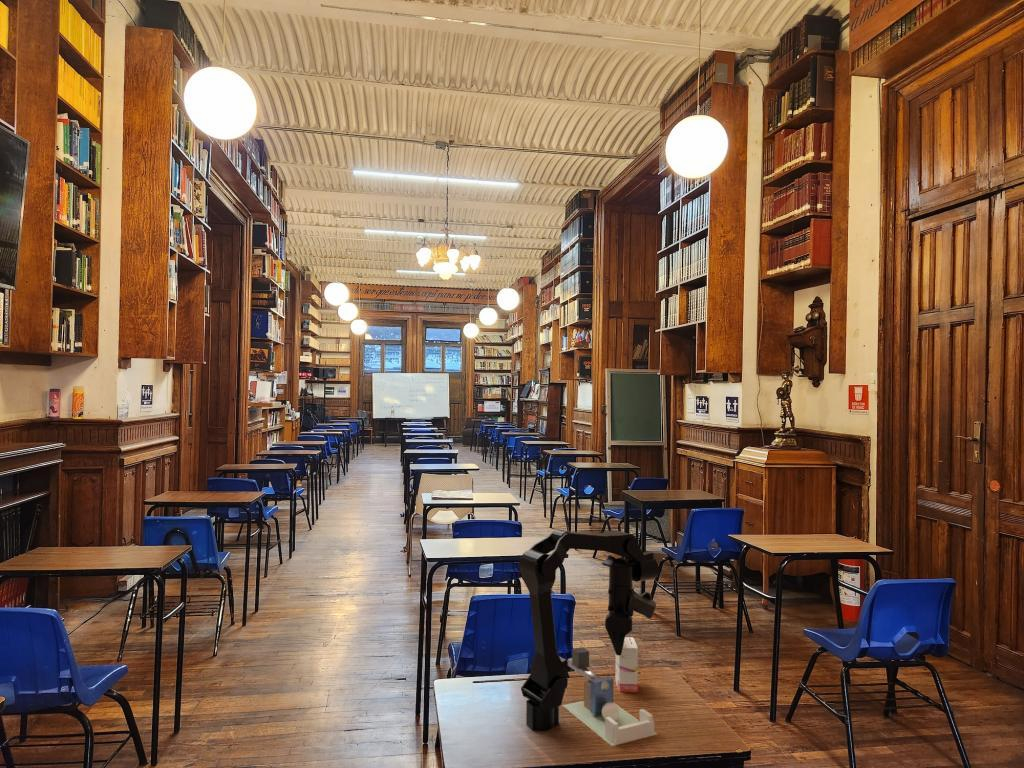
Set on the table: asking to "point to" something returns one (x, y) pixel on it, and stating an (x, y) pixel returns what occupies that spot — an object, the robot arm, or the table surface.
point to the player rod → (592, 680)
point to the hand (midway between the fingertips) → (619, 648)
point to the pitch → (598, 721)
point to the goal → (630, 729)
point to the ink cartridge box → (627, 667)
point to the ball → (610, 711)
